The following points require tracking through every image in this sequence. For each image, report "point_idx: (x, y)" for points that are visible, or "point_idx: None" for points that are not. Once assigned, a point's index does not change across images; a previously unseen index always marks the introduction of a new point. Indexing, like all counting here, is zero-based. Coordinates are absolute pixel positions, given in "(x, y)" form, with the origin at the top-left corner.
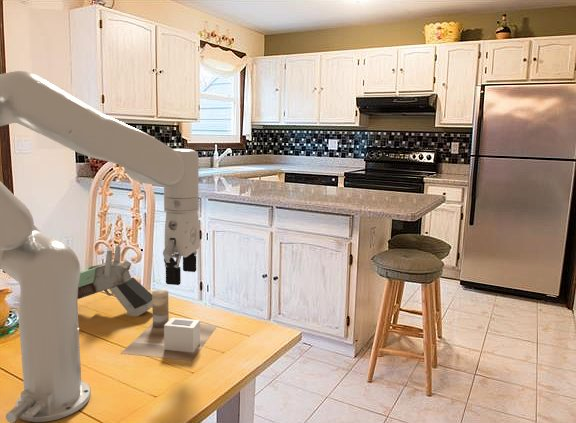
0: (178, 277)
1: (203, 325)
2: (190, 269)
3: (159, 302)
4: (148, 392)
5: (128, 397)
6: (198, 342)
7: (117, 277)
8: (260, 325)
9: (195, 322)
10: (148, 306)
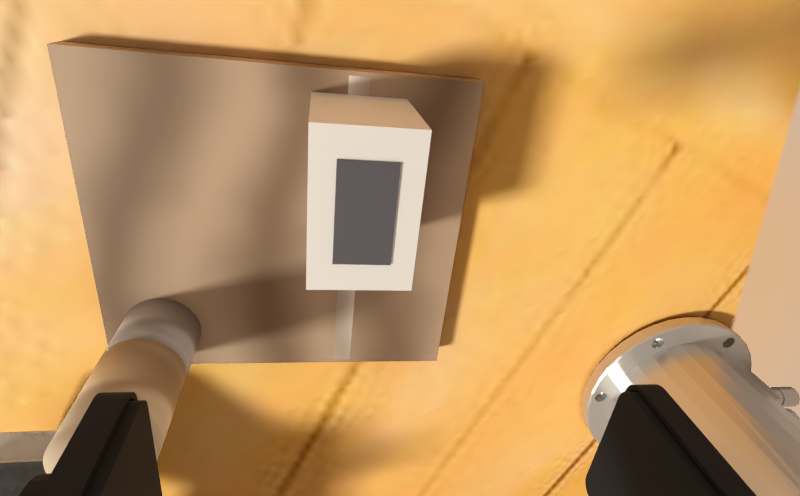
0: (710, 456)
1: (82, 132)
2: (145, 462)
3: (163, 415)
4: (650, 180)
5: (667, 228)
6: (333, 96)
7: None
8: None
9: (349, 140)
10: None
